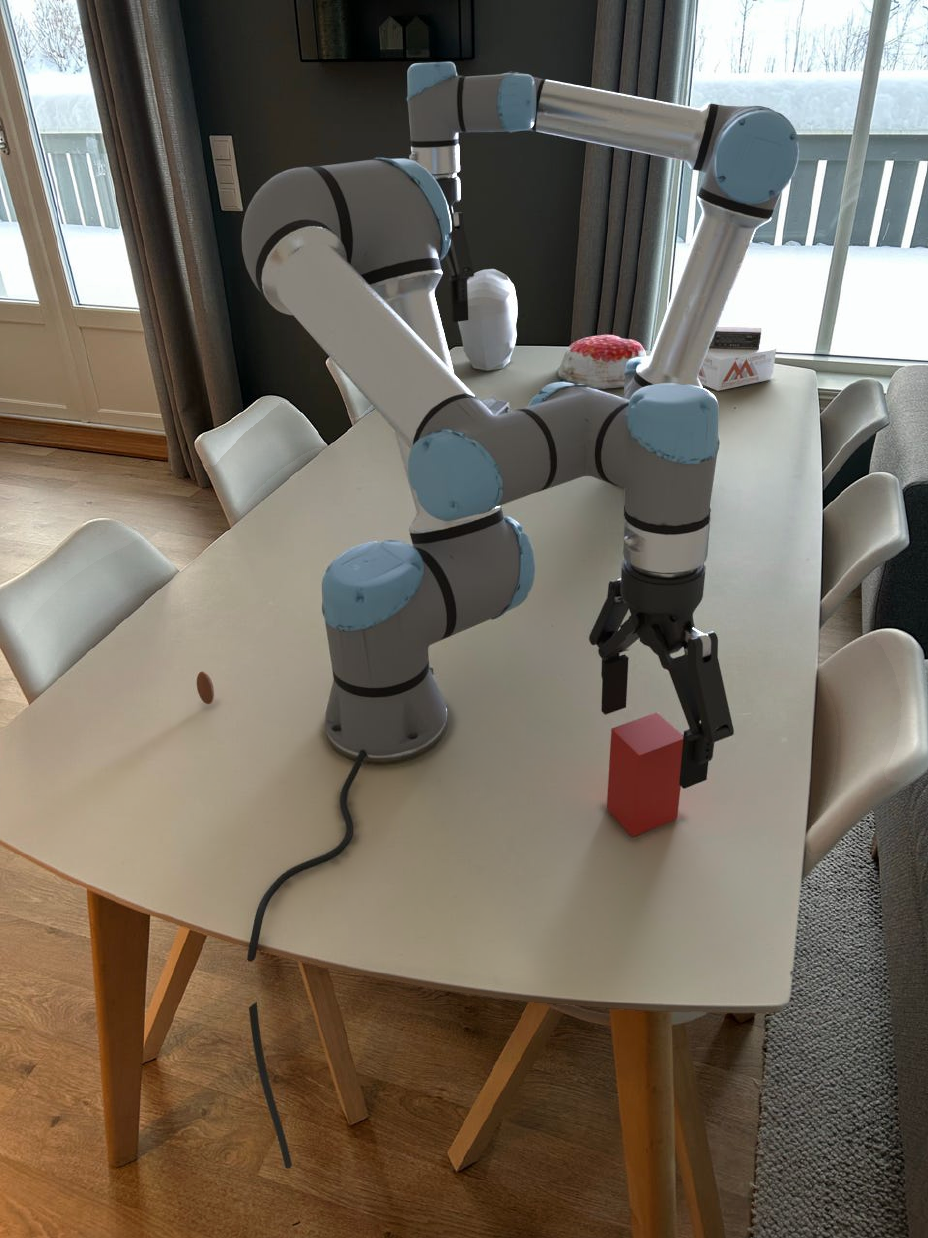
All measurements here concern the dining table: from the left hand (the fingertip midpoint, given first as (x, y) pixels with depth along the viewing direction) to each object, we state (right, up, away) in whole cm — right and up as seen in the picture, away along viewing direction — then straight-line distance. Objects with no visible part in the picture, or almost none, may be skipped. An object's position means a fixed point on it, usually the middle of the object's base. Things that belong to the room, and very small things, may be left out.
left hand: (650, 744), depth 93 cm
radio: (+46, +74, +136) cm, 161 cm away
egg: (-53, +2, +26) cm, 59 cm away
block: (0, -8, +6) cm, 10 cm away
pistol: (-20, +56, +112) cm, 127 cm away
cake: (+17, +76, +141) cm, 161 cm away
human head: (-12, +82, +152) cm, 173 cm away
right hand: (-23, +65, +62) cm, 93 cm away
